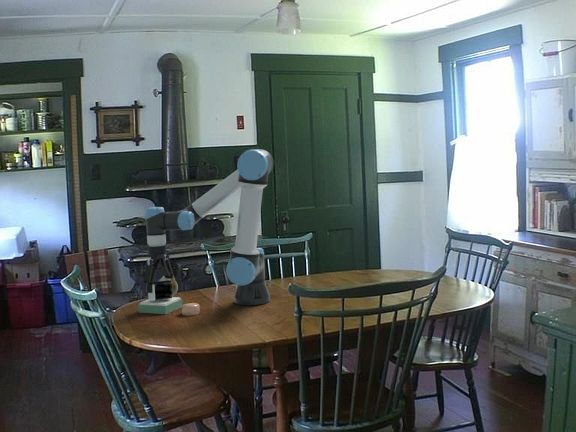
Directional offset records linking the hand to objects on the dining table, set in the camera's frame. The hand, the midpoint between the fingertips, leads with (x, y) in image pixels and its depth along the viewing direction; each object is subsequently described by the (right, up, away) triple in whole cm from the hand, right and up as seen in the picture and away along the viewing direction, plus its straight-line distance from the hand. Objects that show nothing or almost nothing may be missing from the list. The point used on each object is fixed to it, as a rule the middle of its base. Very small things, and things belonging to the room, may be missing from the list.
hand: (160, 297), depth 286 cm
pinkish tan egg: (+14, -6, -8) cm, 17 cm away
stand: (0, -5, +1) cm, 5 cm away
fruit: (-1, -3, +24) cm, 24 cm away
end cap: (0, 0, 0) cm, 0 cm away
